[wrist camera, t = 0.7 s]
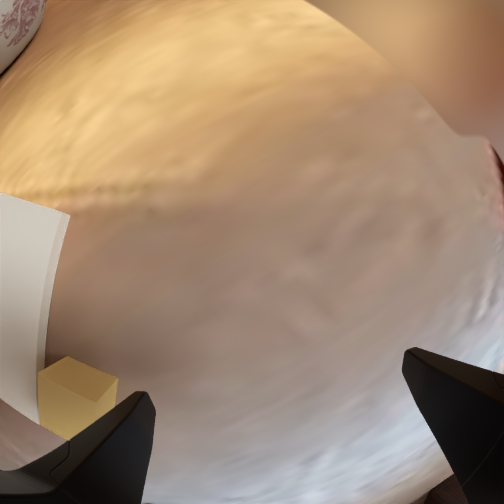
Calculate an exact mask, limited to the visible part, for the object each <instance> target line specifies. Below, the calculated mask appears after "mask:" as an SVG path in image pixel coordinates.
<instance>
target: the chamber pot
mask: <svg viewBox="0 0 504 504" xmlns="http://www.w3.org/2000/svg"><path fill="white" fill-rule="evenodd" d="M46 2H47V0H0V74H1V73H2V72H3V71H4V70H5V69H6V68H7V67H8V66H9V65H10V64H11V63H12V62H13V61H14V59H15V58H16V57H17V56H18V55H19V54H20V53H21V52H22V51H23V49H24V48H25V47H26V46H27V44H28V43H29V42H30V40H31V39H32V38H33V37H34V35H35V33H36V32H37V30H38V28H39V27H40V24H41V22H42V19H43V15H44V11H45V6H46Z"/></svg>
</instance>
